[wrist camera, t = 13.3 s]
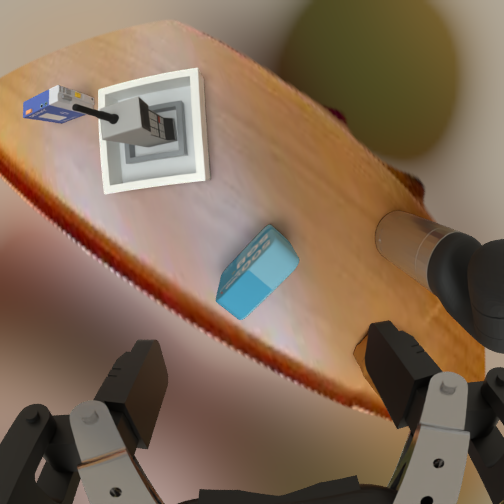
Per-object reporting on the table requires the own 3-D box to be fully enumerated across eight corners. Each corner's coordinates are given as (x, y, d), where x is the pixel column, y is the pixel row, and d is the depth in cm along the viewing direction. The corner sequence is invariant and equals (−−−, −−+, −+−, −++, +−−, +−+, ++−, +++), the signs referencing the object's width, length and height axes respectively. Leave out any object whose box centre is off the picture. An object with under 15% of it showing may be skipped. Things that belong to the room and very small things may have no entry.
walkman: (61, 123, 41) (21, 118, 30) (61, 110, 41) (22, 102, 29) (95, 111, 41) (57, 100, 30) (94, 97, 41) (58, 83, 29)
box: (203, 79, 41) (197, 67, 35) (210, 179, 45) (205, 180, 40) (113, 96, 41) (98, 89, 35) (119, 191, 46) (104, 194, 40)
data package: (269, 222, 48) (276, 239, 36) (289, 240, 49) (302, 262, 37) (220, 273, 50) (213, 304, 38) (240, 290, 51) (239, 324, 39)
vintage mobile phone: (177, 141, 43) (106, 116, 19) (148, 147, 43) (57, 134, 19) (174, 119, 42) (103, 74, 18) (145, 126, 42) (55, 95, 18)
